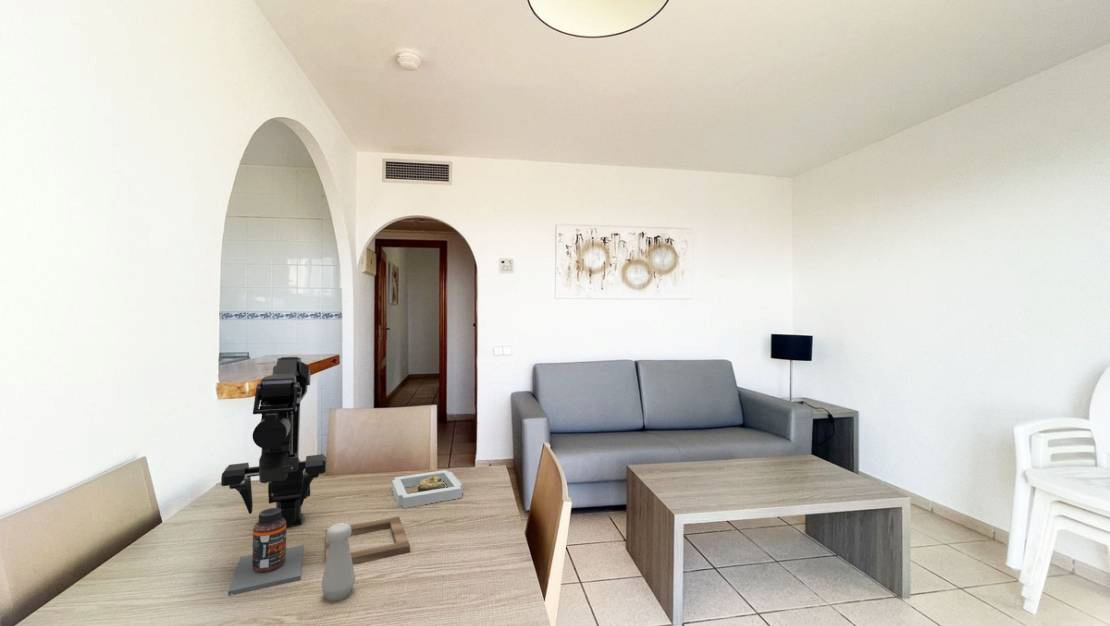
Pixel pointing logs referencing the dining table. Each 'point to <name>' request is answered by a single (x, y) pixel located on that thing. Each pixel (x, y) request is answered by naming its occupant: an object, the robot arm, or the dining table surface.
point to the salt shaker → (338, 564)
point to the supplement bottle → (269, 541)
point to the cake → (431, 484)
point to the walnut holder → (382, 551)
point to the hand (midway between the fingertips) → (276, 509)
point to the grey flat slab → (254, 580)
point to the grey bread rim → (426, 496)
